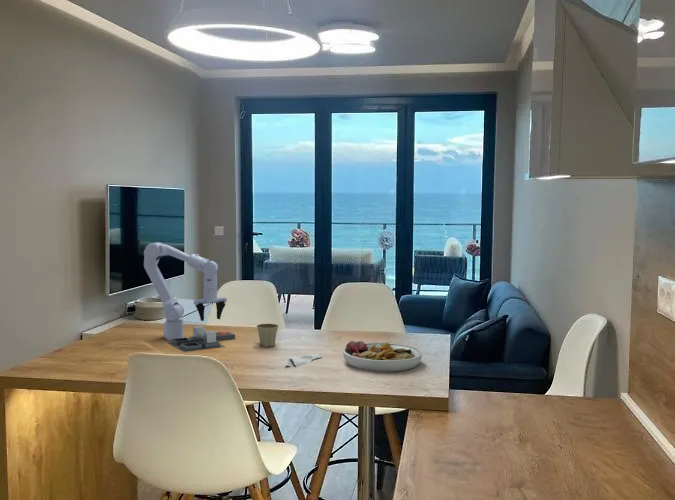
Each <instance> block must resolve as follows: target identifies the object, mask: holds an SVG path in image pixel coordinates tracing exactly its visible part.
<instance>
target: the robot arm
mask: <svg viewBox="0 0 675 500" xmlns="http://www.w3.org/2000/svg"><path fill="white" fill-rule="evenodd" d="M199 255H200V254H198V253H192V254H188V253H186V252H183V251H181V250H179V249H177V248H176V247H173V246H171V245H169V244H166V243H163V242H160V241H155V242H151V243H148V244H147V245H146V246H145V248H144V251H143V256H144V257H143V258H144V259H143V267H144V270H145V272H146V274H147V275H148V277H149V279H150V281H151V283H152V285H153V286H154V287H153V288H154V289H155V290H156V293H157V294H158V296H159V298H160V300H161V302H162V308H163V311H164V317H165V322H164V323H163V338H165V339H166V340H168V341H171V339H176V338H184V318H183V317H182V316H183V315H184V313H185V309H184V306H183V305H182V304H181V303H179V302H178V300H177V299H176V298H175V297H174V295H173V293H172V292H171V290H170V287H169V285H168V284H167V282H166V280H165V278H164V276H163V274H162V272H161V270H160V267H158V264H159V262H160V259H161V258H162V257H164V256H171V257H174V258H175V259H178V260H181V261H183V262H186V264H187V266H188V267H189V268H192V269H195V270H197V271H200V272H203V298H199V299H193V304H194V305H195V308H196V309H197V312H198V315H199V318H200V321H201V322H204V321H205V309H206V308H205V307H206V306H205V304H206V305H207V304H215V307H216V319H217V320H221V318H222V313H223V310H224V308H225V307H226V303H227V300H228V299H227V297H218V274H217V272H218V270H219V266H218V264H217V262H215V261H214V260H210V259H209V258H205V257H202V256H199Z"/></svg>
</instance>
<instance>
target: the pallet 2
mask: <svg viewBox="0 0 675 500" xmlns="http://www.w3.org/2000/svg"><path fill="white" fill-rule="evenodd" d="M225 347H226V346H225V345H224V344H223V345H222V344H221V342H220V341H217V340H216V343H212V344H204V343H203V341H201V342H199V343H197V342H192V343H184V344H181V346H177V347H175V349H178V350H179V351H180V352H183V353H187V352H195V351H204V350H211V349H218V348H225Z"/></svg>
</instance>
